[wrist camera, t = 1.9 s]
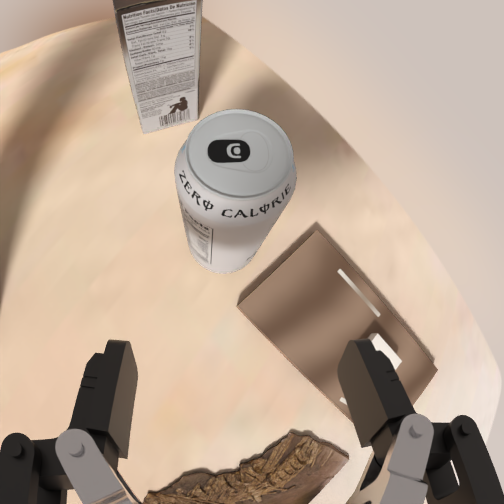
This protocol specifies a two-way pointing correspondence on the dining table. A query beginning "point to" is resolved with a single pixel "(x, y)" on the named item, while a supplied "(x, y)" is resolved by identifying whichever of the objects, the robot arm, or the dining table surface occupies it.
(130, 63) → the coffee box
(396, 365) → the white square tile
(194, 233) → the energy drink can
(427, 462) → the robot arm
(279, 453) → the wooden fragment
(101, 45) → the dining table surface
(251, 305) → the walnut board
